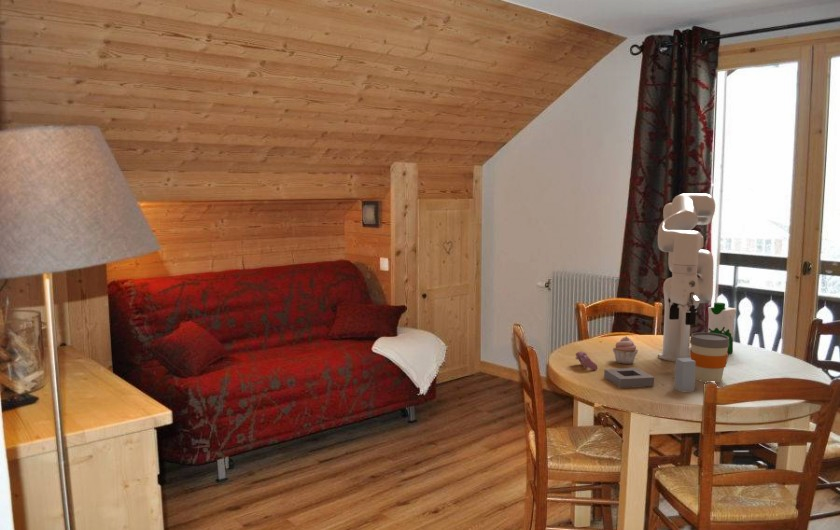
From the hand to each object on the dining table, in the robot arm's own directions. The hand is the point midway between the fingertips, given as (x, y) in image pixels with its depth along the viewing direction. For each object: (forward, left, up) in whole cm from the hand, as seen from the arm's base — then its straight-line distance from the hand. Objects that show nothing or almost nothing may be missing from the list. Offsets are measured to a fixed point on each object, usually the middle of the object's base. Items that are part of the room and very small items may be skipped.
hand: (681, 322), depth 223 cm
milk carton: (-43, -41, -22) cm, 63 cm away
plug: (-1, +2, -22) cm, 22 cm away
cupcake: (+2, -33, -22) cm, 40 cm away
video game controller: (+20, -29, -22) cm, 42 cm away
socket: (+13, -9, -22) cm, 27 cm away
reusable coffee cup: (-16, -8, -22) cm, 28 cm away
